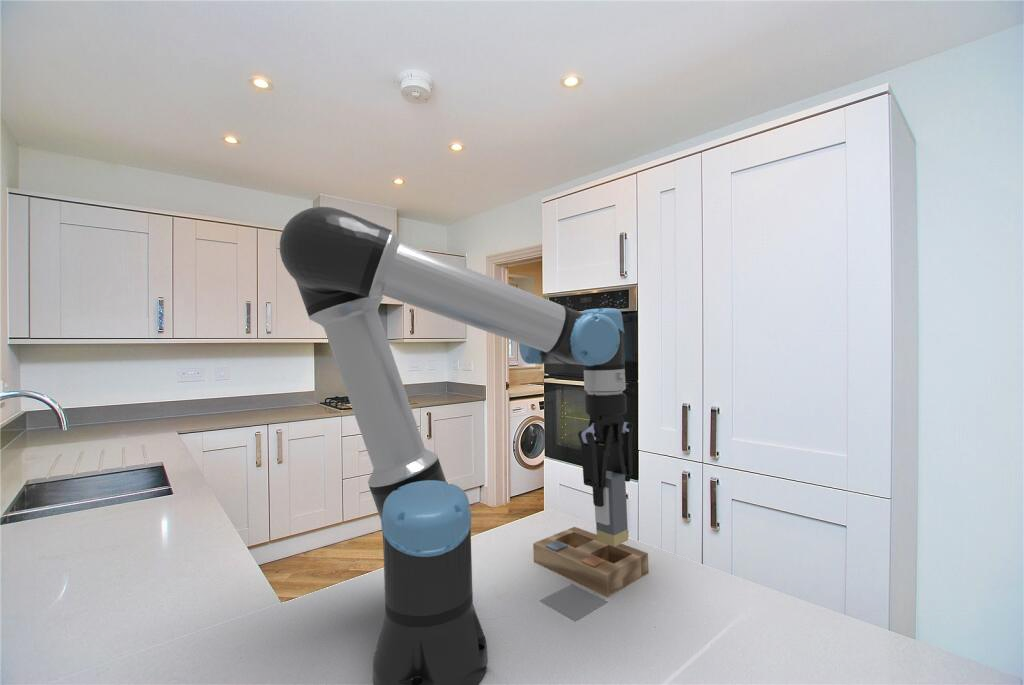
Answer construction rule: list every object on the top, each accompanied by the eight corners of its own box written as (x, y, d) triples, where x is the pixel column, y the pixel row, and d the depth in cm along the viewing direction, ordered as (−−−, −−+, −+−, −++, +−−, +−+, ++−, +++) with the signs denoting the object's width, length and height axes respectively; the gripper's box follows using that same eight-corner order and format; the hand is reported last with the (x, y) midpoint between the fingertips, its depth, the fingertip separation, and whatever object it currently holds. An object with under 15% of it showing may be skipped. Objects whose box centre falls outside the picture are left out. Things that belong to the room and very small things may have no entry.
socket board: (607, 599, 78) (606, 572, 78) (533, 563, 92) (533, 541, 92) (648, 575, 86) (647, 550, 86) (575, 545, 99) (574, 524, 99)
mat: (575, 624, 71) (575, 621, 71) (539, 603, 77) (539, 600, 77) (608, 604, 76) (608, 601, 76) (572, 586, 83) (572, 583, 83)
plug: (614, 546, 83) (611, 479, 83) (596, 540, 86) (593, 475, 86) (628, 540, 86) (625, 474, 86) (610, 534, 89) (607, 470, 89)
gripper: (590, 398, 78) (596, 539, 78) (649, 389, 89) (654, 512, 89) (558, 395, 84) (563, 527, 83) (617, 387, 95) (622, 503, 94)
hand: (610, 519), depth 86 cm, fingers closed on plug, 4 cm apart
